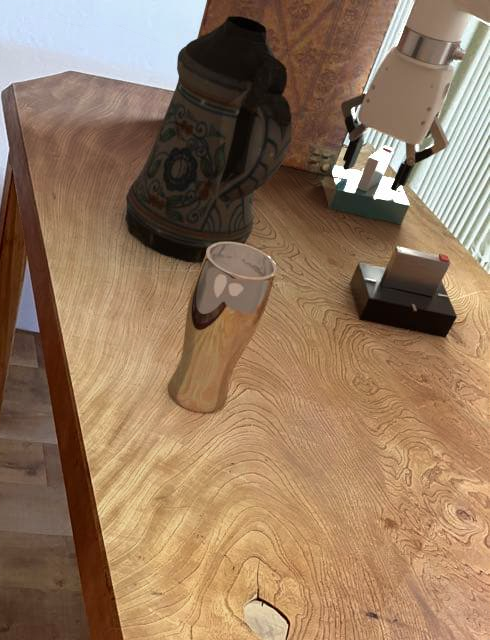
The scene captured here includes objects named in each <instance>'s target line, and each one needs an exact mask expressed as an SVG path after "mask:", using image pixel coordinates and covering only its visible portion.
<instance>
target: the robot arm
mask: <svg viewBox="0 0 490 640" xmlns="http://www.w3.org/2000/svg"><path fill="white" fill-rule="evenodd" d="M471 17H474V18H476V20H479V21H480V22H483V23H484V24H486V25H488V26H490V0H413V2H412V4H411V6H410V9H409V11H408V14H407V17H406V19H405V22H404V24H403V26H402V29H401V32H400V35H399V37H398V39H397V41H396V45H392V46H391V47H390V48H389V49H388V51H387V53H385V56H384V58H383V59H382V61H381V63H380V64H379V66H378V68H377V70H376V71H375V74H374V76H373V79H372V80H371V83H370V84H369V86H368V88H367V91H366V92H363V94H361V95H359V96H356V97H354V98H351V99H349V100H346V101H344V102H343V103H342V104H341V109H342V113H343V116H344V118H345V125H346V128H347V131H348V140H349V142H348V145H347V147H346V150H345V152H344V155H343V158H342V161H343V162H344V164H343V166H342V167H343V170H349V169H352V168H354V167H355V165H356V164H357V160H358V158H359V156H360V153H361V150H362V147H363V146H364V142H365V139H364V135H365V134H366V133H367V132H369V130H374V131H376V132H379V133H380V134H383V135H386V136H388V137H391V138H392V139H395V140H398V141H400V142H403V143H405V159H404V160H403V161H401V163H400V165H399V167H398V169H397V172H396V174H395V176H394V178H393V179H394V181H393V183H392V185H391V188H390V189H391V190H392V191H396V190H397V189H398V188H400V187H401V186H402V187H404V186H406V184H407V183H408V181H409V178H410V176H411V174H412V171H413V170H414V167H415V165H416V164H418V163H420V162H423V161H425V160H427V159H428V158H430V157H433V156H434V155H436V154H438V153H439V152H441V151H443V150H446V148H447V147H448V146H449V143H450V142H449V141H448V138H447V135H446V134H445V131H444V129H443V126H442V124H441V122H440V120H439V118H440V116H441V112H442V110H443V108H444V105H445V103H446V99H447V96H448V93H449V92H450V91H449V90H450V87H451V84H452V80H453V77H454V73H455V67H454V66H453V65H452V64H451V63H453V62H459V63H462V62H463V61H464V60H465V58H466V56H467V53H468V51H467V50H464V49H463V48H462V47H461V42H462V37H463V35H464V33H465V30H466V28H467V26H468V24H469V22H470V19H471ZM356 106H358V107H359V106H360V107H359V109H358V113H357V116H356V113H355V112H354V108H355V107H356ZM359 122H360V123H359ZM430 137H432V139H433V144H431V145H429V146H427V147H425V148H423V149H421V148H422V144H421V143H422V142H423V141H424V140H426V139H429V138H430Z"/></svg>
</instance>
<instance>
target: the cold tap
mask: <svg viewBox="0 0 490 640" xmlns="http://www.w3.org/2000/svg"><path fill="white" fill-rule="evenodd" d="M394 152H395V150H394V148H392V147H390V146H387V145H384V146H383V147H381V148H379V150H377V151H375V152H374V153H373V154H370V156H368V158H367V160H366V163H365V165H364V168H363V169H364V170H363V169H362V171H361V172H362V175H361V177H360V180H359V182H358V185H357V188H359V189H361V190H364V191H368V190H369V189H370V188H372V187H373V186H375V185H376V184H377V183H379V182H380V181H381V180H382V178H383V177H385V176H384V175H385V173H386V171H387V169H388V166H389V164H390V162H391V159H392V157H393V155H394Z"/></svg>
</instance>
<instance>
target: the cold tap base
mask: <svg viewBox="0 0 490 640" xmlns="http://www.w3.org/2000/svg"><path fill="white" fill-rule="evenodd" d="M363 170H364V168H362V171H360V170H357V169H352V168H350V169H349V170H343V166H338V165H335V166H334V165H329V167H328V170H327V172H326V175H324V178H323V181H322V184H321V185H322V187H323V190H324V195H325V198H326V202H327V206H328V209H329V210H333V211H337V212H342V213H347V214H351V215H355V216H359V217H365V218H369V219H374V220H378V221H383V222H386V223H387V222H388V223H392V224H396V225H402V223H403V221H404V220H405V217H406V215H407V212H408V210H409V208H410V206H411V205H410V203H409V200H408V198H407V195H406V194H405V193H406V192H405V190H404V188H403V186H401V187H400V188H398V189H397V190H396V191H392V190H391V189H390V188H391V185H392V183H393V181H394V178H392V177H387V176H383V178H382V180H381V181H380V182H379V183H377V184H376V185H375V186H373V187H372V188H370V189H369V190H368V191H364V190H361V189H359V188H357V185H358V182H359V180H360V177H361V175H362V172H363Z"/></svg>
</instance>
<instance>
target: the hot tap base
mask: <svg viewBox="0 0 490 640" xmlns="http://www.w3.org/2000/svg"><path fill="white" fill-rule="evenodd" d="M385 269H386V267H382V266H378V265H373V264H369V263H364V262H358V263H357V265H356V267H355V270H354V272H353V274H352V276H351V278H350V281H349V287H350V291H351V294H352V297H353V302H354V304H355V308H356V313H357V316H358V320H360V321H363V322H367V323H368V322H370V323H374V324H378V325H382V326H388V327H393V328H397V329H401V330H407V331H411V332H417V333H420V334H424V335H425V334H426V335H430V336H434V337H435V336H436V337H439V338H445V339H446V338H447V337H448V335H449V332H450V331H451V330H452V327H453V325H454V324H455V322H456V320H457V318H458V316H457V313H456V311H455V308H454V306H453V303H452V301H451V299H450V296H449V294H448V291H447V290H446V287H445V285H444V283H443V280H442V281H441V283H440V285H439V287H438V289H437V291H436V293H435V295H434V296H433V297H432V296H427V295H423V294H418V293H413V292H409V291H404V290H399V289H395V288H390V287H385V286H383V285H382V282H381V278H382V276H383V274H384V271H385Z"/></svg>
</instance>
